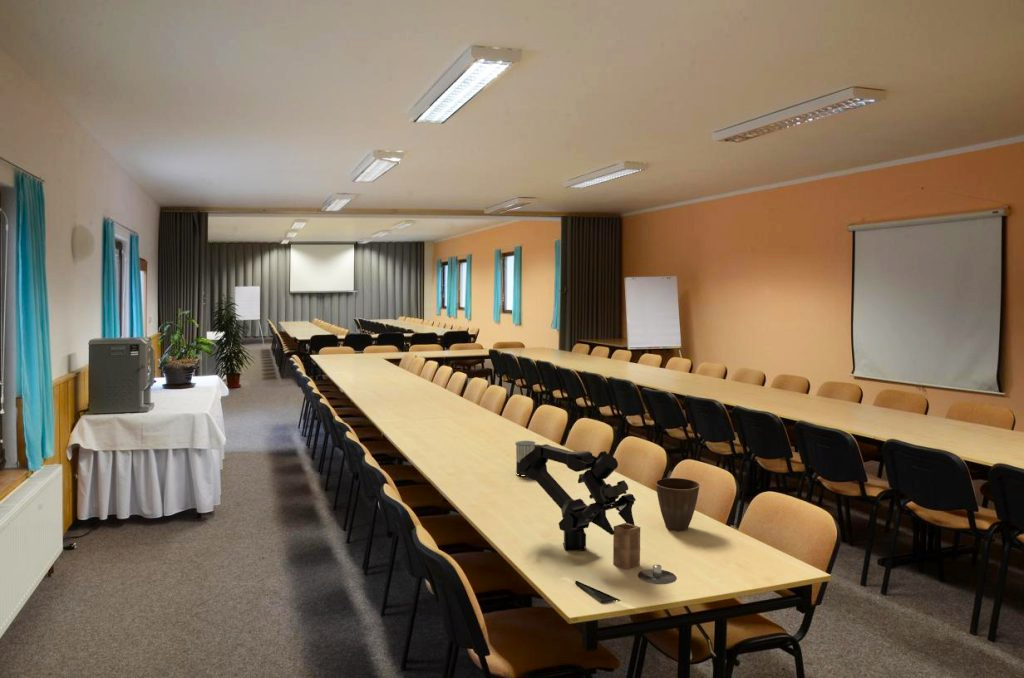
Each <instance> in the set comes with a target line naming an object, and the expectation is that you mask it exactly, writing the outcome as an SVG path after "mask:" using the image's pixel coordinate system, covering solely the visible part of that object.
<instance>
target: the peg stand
mask: <svg viewBox="0 0 1024 678" xmlns="http://www.w3.org/2000/svg"><path fill="white" fill-rule="evenodd" d="M637 578H638V579H639V580H641V581H642V582H645V583H648V584H653V585H669V584H672V583H675V582H676V581H677V576H676V575H675V574H674V573H672V572H671V571H668V570H664V569H662V565H660V564H653V565H652V568H647V569H643V570H640V571H639V572H638V573H637Z"/></svg>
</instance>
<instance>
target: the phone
mask: <svg viewBox="0 0 1024 678" xmlns="http://www.w3.org/2000/svg"><path fill="white" fill-rule="evenodd" d="M574 583H575V585H576V586H577V587H578V588H580V589H581V590H582V591H584V592H585V594H587V595H589V596H591V597H592V598H593V599H595V600H596V601H597V602H598V603H601V604H607V603H608V602H609V603H612V601H614V602H617V601H616V600H618V601H621V599H619V598H618V597H615V596H612V595H611V594H608V593H606V592H603V591H601V590H599V589H597V588H595V587H593V586H590V585H587V584H585V583H583V582H580V581H578V580H575V582H574Z"/></svg>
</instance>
